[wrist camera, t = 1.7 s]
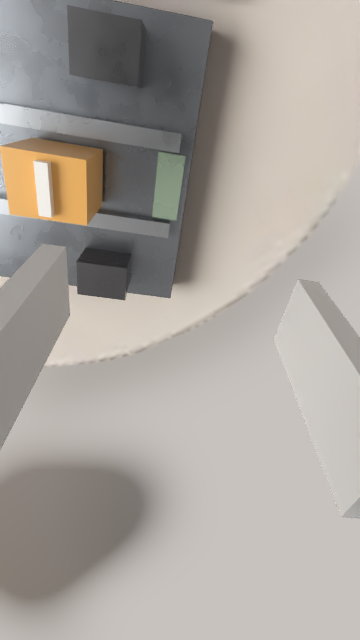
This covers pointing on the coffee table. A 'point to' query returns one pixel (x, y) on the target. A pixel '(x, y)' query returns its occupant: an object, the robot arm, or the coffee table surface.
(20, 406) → the robot arm
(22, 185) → the slider
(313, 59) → the coffee table surface
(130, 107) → the panel
